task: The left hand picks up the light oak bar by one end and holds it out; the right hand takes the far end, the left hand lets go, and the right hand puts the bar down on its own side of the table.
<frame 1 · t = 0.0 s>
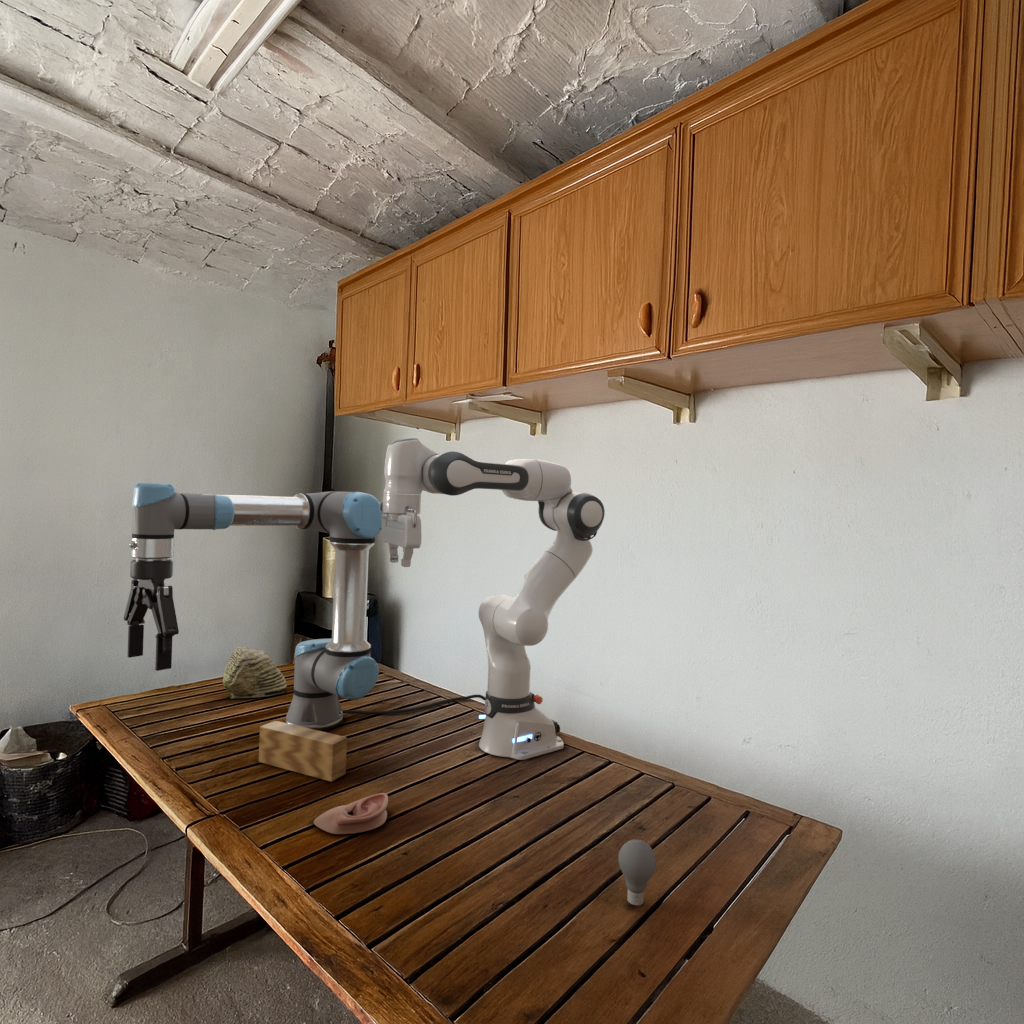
left hand: (148, 662, 129), 28 cm above the table, tool pointing down, fingers open, 13 cm apart
right hand: (399, 564, 150), 48 cm above the table, tool pointing down, fingers open, 8 cm apart
anatomical model: (351, 821, 124), on the table
bar: (301, 767, 147), on the table
light bulb: (635, 904, 102), on the table
fossil: (254, 694, 198), on the table
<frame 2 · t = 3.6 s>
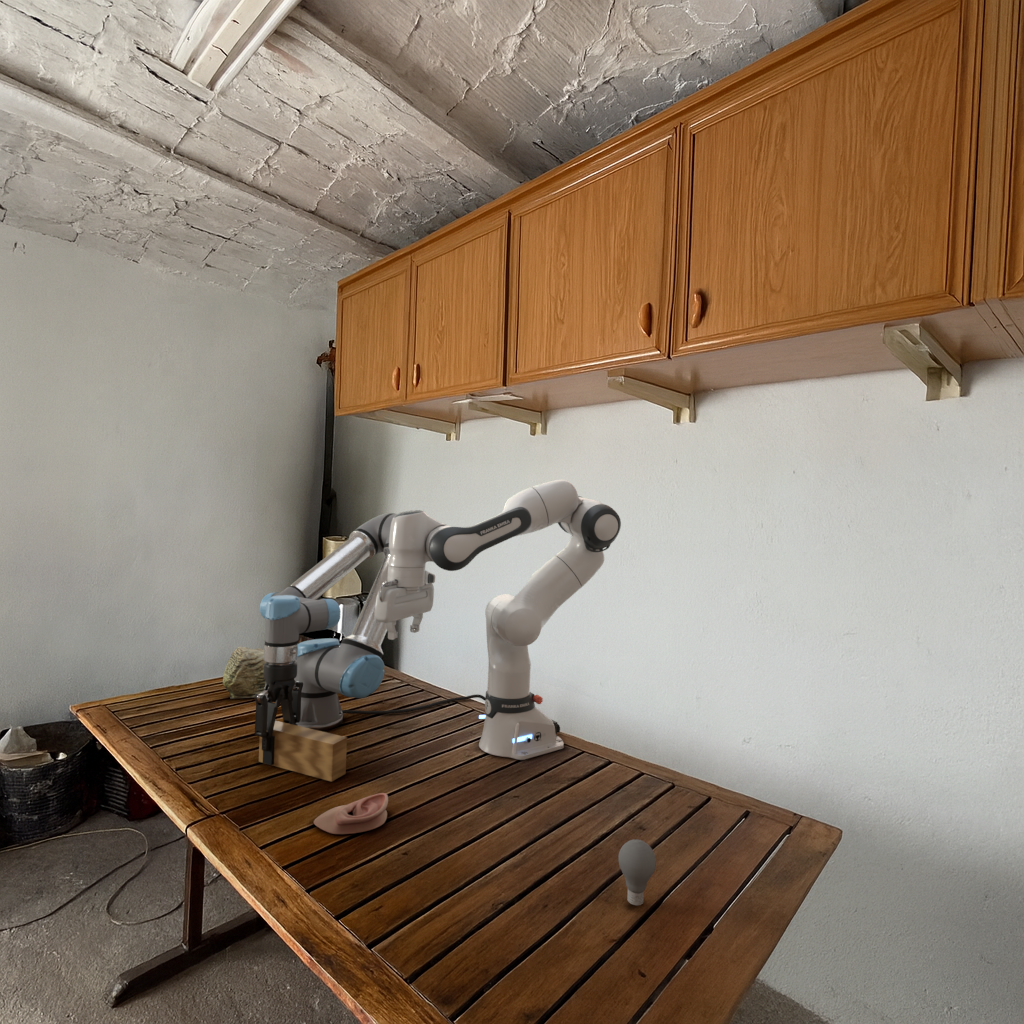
left hand: (277, 758, 150), 1 cm above the table, tool pointing down, fingers closed on bar, 5 cm apart
right hand: (404, 635, 152), 31 cm above the table, tool pointing down, fingers open, 8 cm apart
bar: (301, 767, 147), on the table, touching left hand
everything else where it was.
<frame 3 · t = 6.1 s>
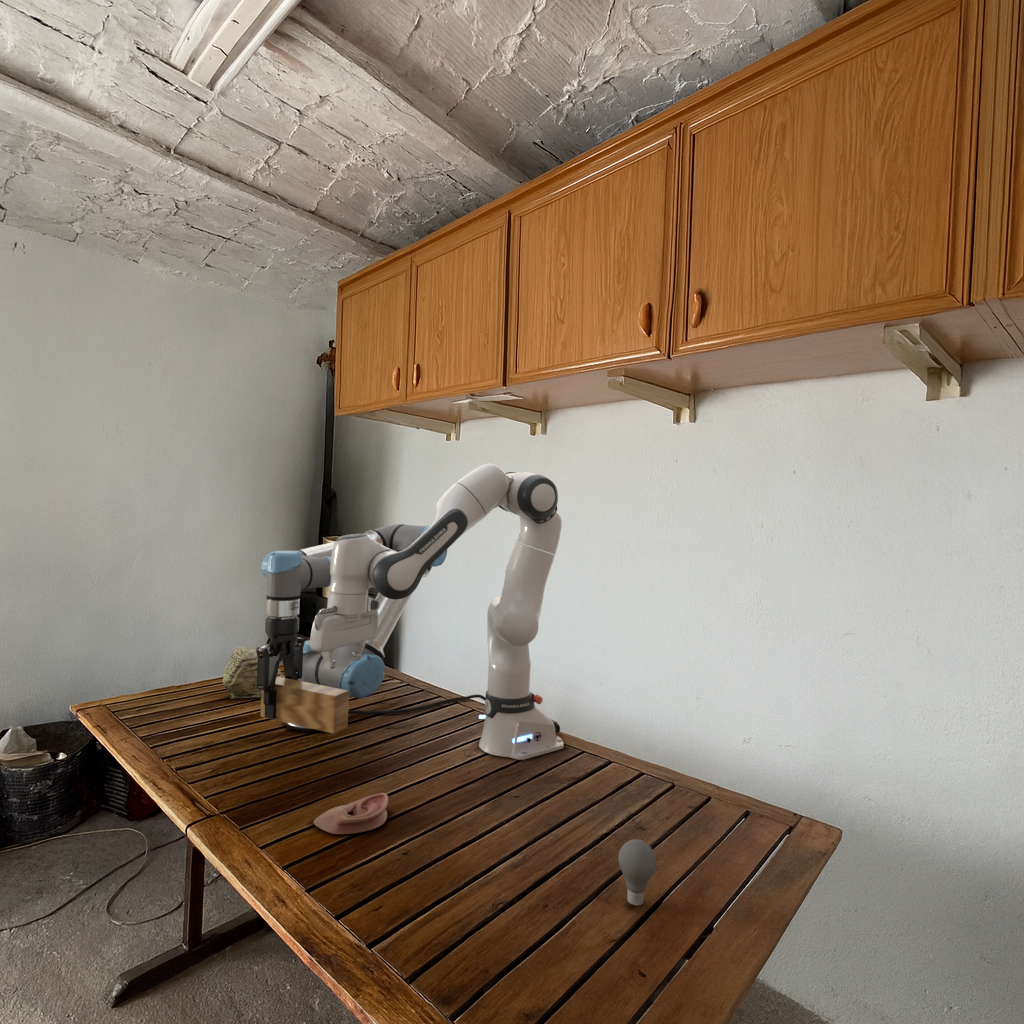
left hand: (279, 713, 150), 11 cm above the table, tool pointing down, fingers closed on bar, 5 cm apart
right hand: (343, 664, 145), 25 cm above the table, tool pointing down, fingers open, 8 cm apart
bar: (303, 721, 147), point 11 cm above the table, touching left hand
everything else where it was.
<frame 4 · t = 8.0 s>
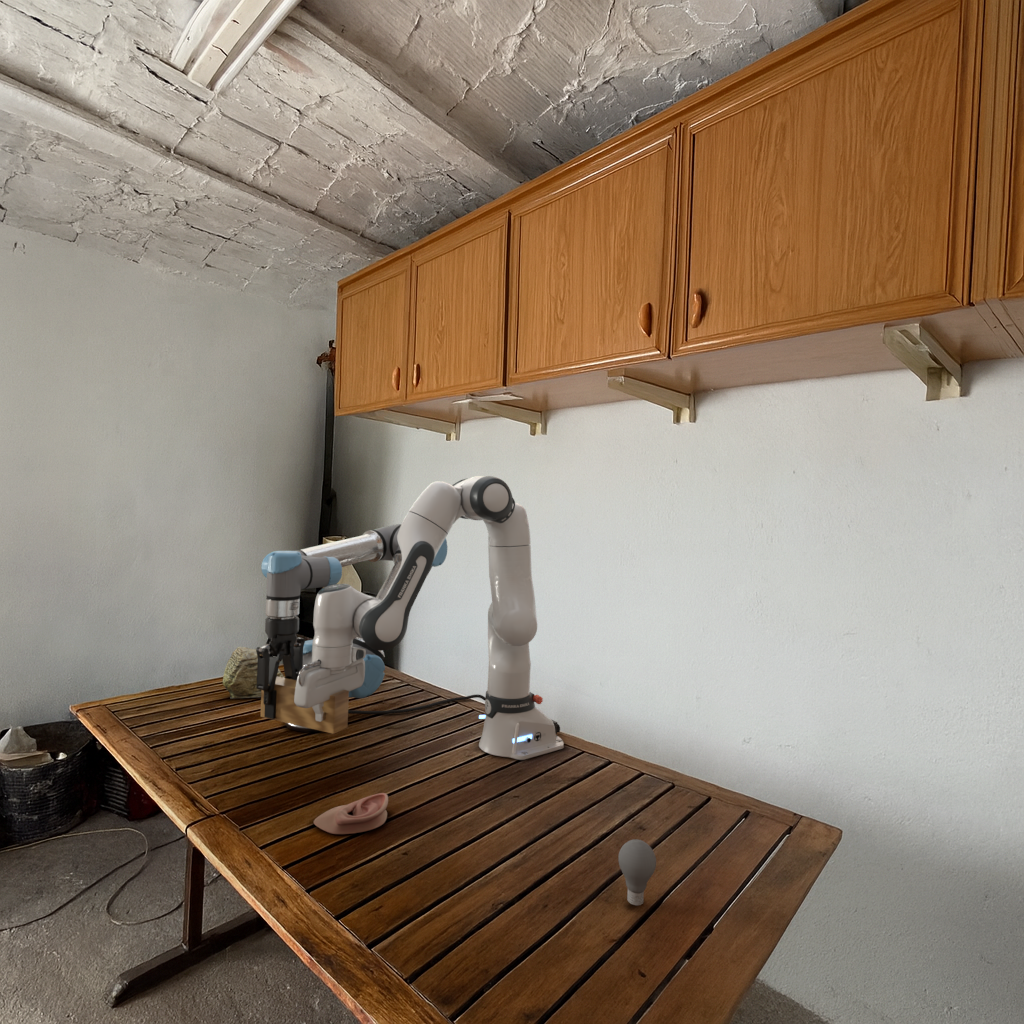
left hand: (278, 713, 150), 11 cm above the table, tool pointing down, fingers closed on bar, 5 cm apart
right hand: (329, 716, 144), 13 cm above the table, tool pointing down, fingers closed on bar, 5 cm apart
bar: (303, 721, 147), point 11 cm above the table, touching left hand, right hand
everything else where it was.
when the left hand's fingers open (11 cm above the table, at t = 8.9 s): bar stays where it is, held by the right hand.
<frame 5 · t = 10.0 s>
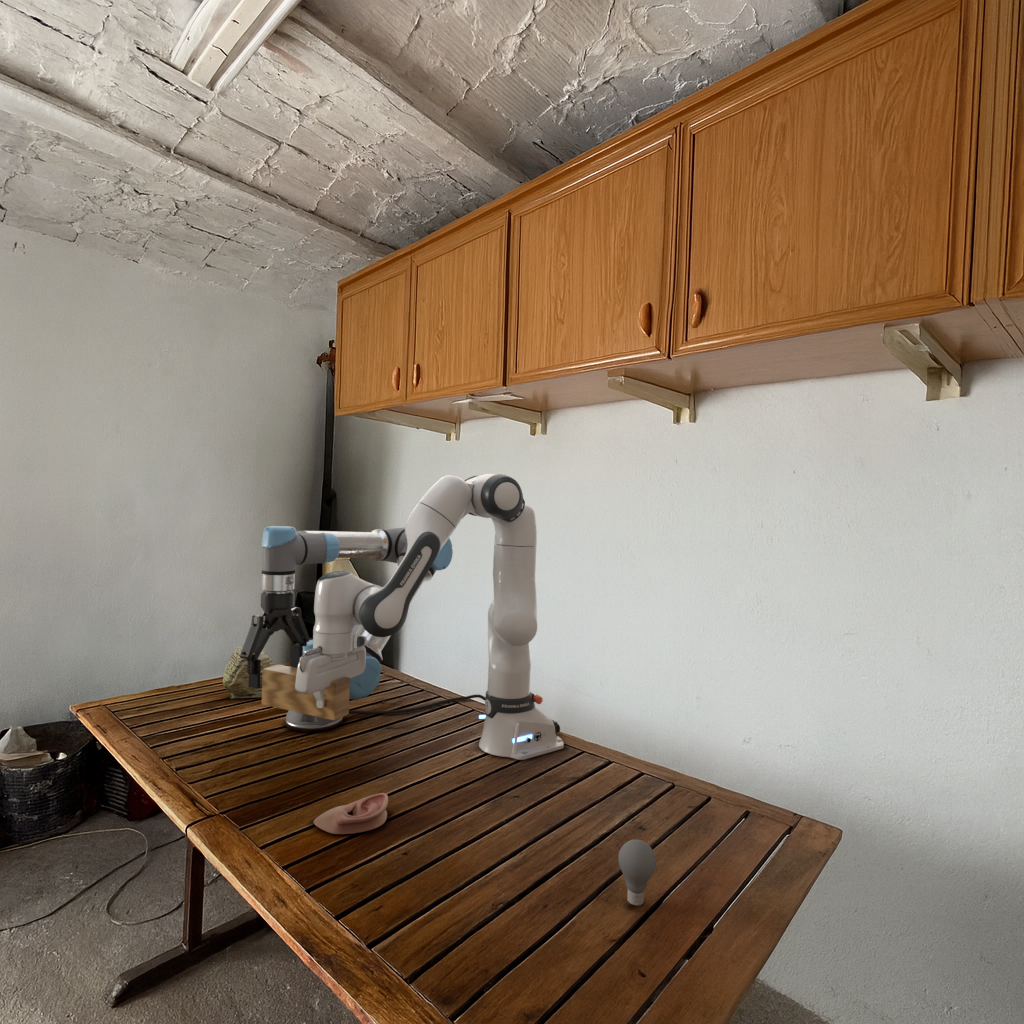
left hand: (275, 679, 151), 19 cm above the table, tool pointing down, fingers open, 13 cm apart
right hand: (331, 703, 144), 16 cm above the table, tool pointing down, fingers closed on bar, 5 cm apart
bar: (304, 709, 147), point 14 cm above the table, touching right hand
everything else where it was.
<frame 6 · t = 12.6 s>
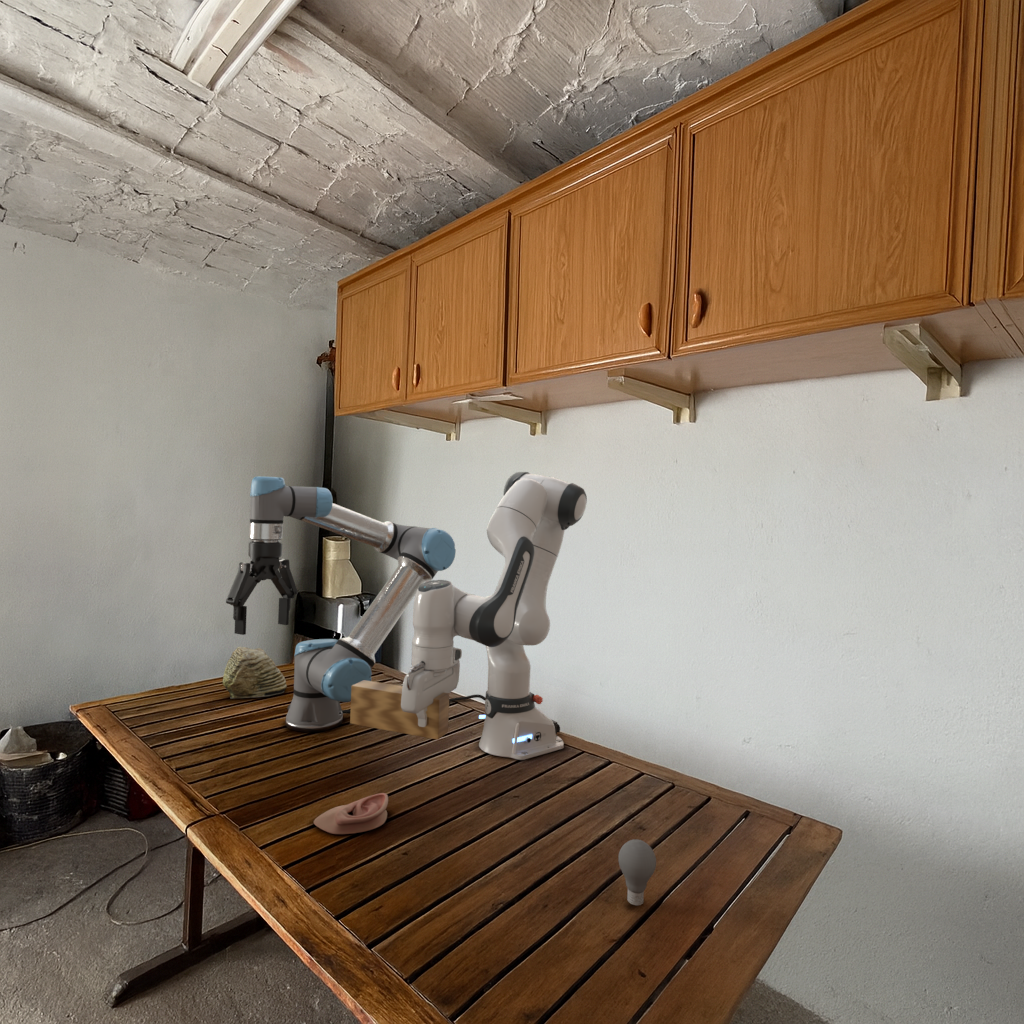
left hand: (262, 629, 152), 31 cm above the table, tool pointing down, fingers open, 13 cm apart
right hand: (430, 721, 136), 16 cm above the table, tool pointing down, fingers closed on bar, 5 cm apart
bar: (398, 727, 138), point 14 cm above the table, touching right hand
everything else where it was.
when the right hand's fingers open (4 cm above the table, at t = 17.6 s): bar drops 1 cm, on the table.
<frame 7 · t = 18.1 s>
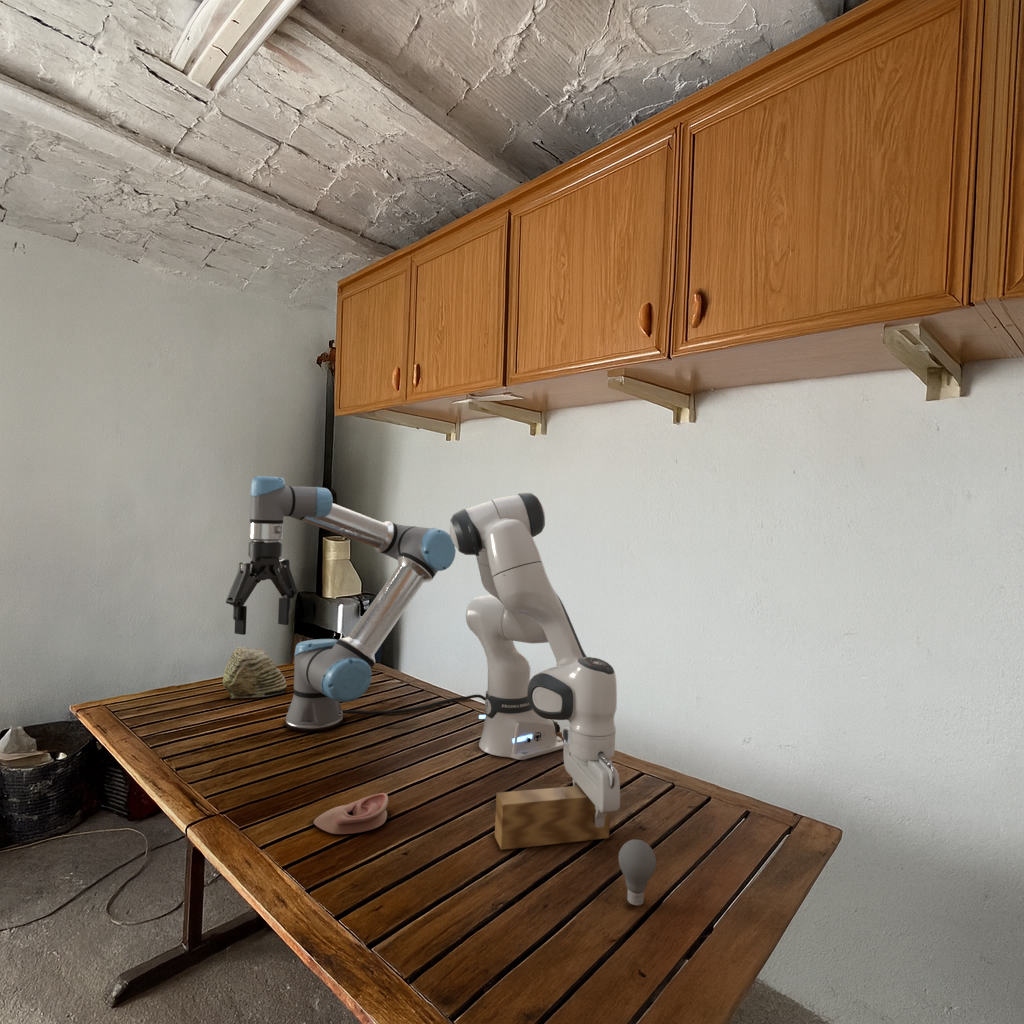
left hand: (262, 629, 152), 31 cm above the table, tool pointing down, fingers open, 13 cm apart
right hand: (588, 813, 124), 4 cm above the table, tool pointing down, fingers open, 8 cm apart
bar: (552, 837, 122), on the table
everything else where it was.
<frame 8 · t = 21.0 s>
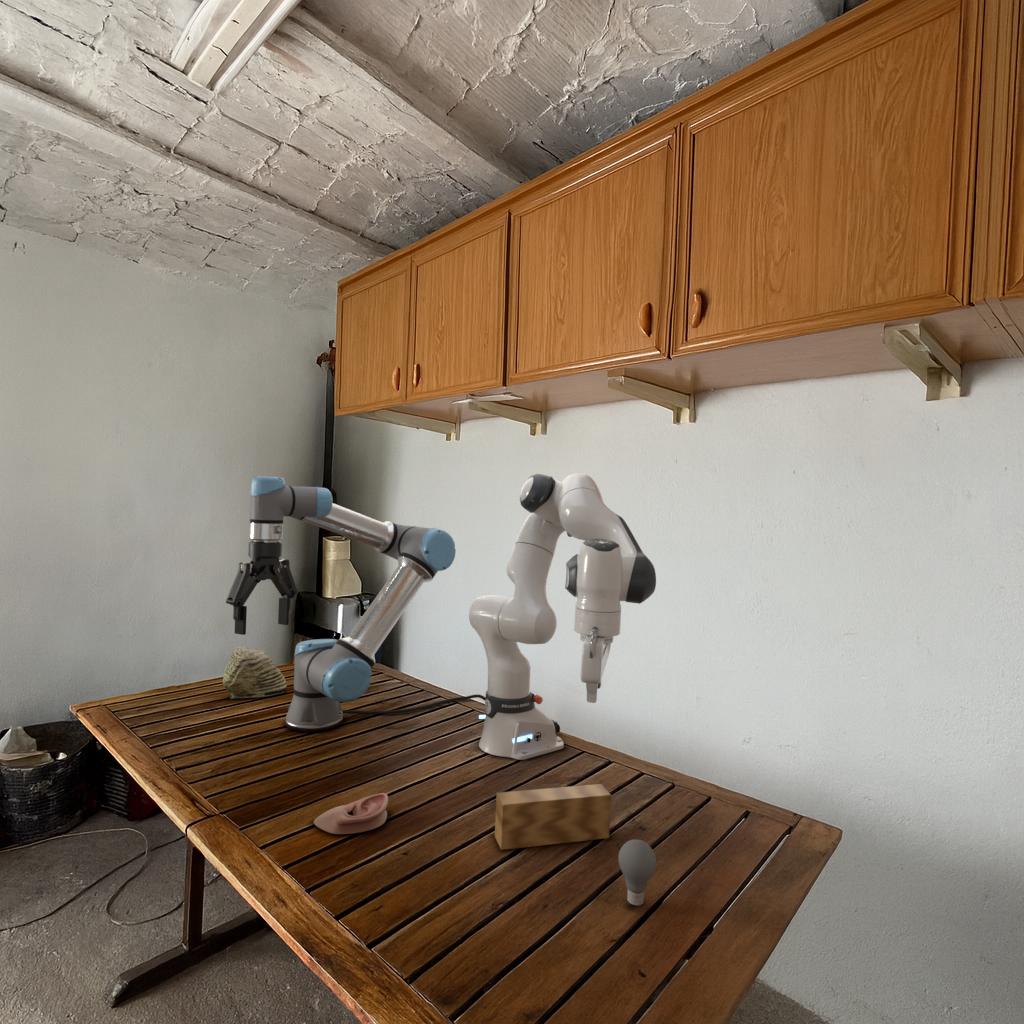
left hand: (262, 629, 152), 31 cm above the table, tool pointing down, fingers open, 13 cm apart
right hand: (594, 694, 123), 27 cm above the table, tool pointing down, fingers open, 8 cm apart
nothing on the table moved.
at the end: bar inside the target area (7.3 cm from its centre), on the table; the left hand is holding nothing; the right hand is holding nothing; bar at rest at the end (0.0 cm/s) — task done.
